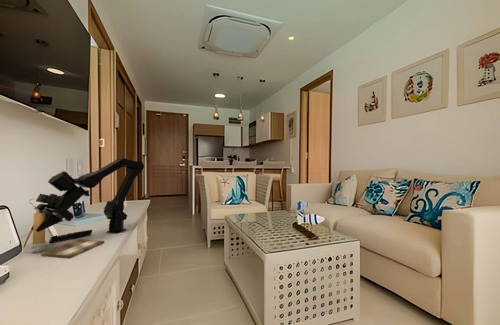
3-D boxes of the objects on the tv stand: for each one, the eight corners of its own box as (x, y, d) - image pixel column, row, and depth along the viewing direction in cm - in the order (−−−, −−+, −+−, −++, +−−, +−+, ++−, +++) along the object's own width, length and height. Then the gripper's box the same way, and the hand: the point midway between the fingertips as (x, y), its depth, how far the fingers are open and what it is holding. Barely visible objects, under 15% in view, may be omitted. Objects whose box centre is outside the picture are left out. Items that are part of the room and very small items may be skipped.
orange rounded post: (39, 244, 86) (40, 211, 87) (48, 244, 86) (49, 212, 86) (28, 248, 82) (29, 214, 83) (37, 248, 82) (38, 214, 82)
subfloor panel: (80, 241, 96) (80, 238, 96) (104, 243, 95) (104, 240, 95) (41, 256, 81) (41, 253, 81) (69, 258, 79) (69, 255, 79)
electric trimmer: (93, 236, 104) (93, 230, 104) (49, 244, 93) (50, 237, 93) (91, 234, 107) (91, 228, 107) (48, 242, 95) (49, 235, 95)
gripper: (42, 184, 92) (3, 215, 82) (65, 187, 84) (25, 222, 74) (64, 200, 99) (31, 230, 89) (87, 204, 91) (53, 238, 81)
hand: (34, 230), depth 83 cm, fingers closed on orange rounded post, 3 cm apart
